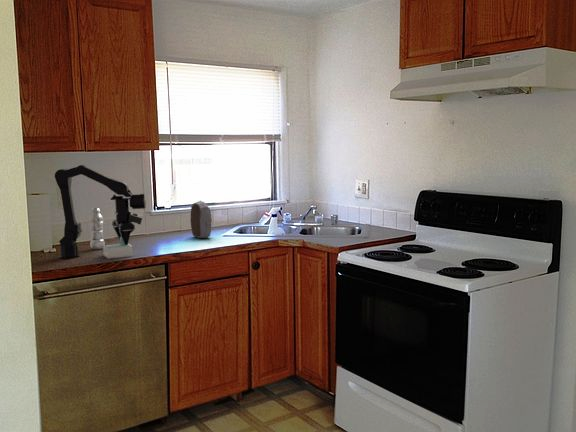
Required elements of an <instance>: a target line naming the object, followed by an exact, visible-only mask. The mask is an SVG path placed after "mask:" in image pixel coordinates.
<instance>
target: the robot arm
mask: <svg viewBox="0 0 576 432" xmlns="http://www.w3.org/2000/svg"><path fill="white" fill-rule="evenodd" d="M79 175H80V176H81V175H82V176H84V177H87V178H88V179H91V180H93V181H95V182H97V183H99V184H102V185H103V186H105V187H107V188H108V189H109V190H110V191H112V192H113V193H115V194H113V196H112V197H111V198H110V201H114V202H115V203H114V204H115V211H114V214H115V219H114V220H112V221H111V226H112V227H113V230H114V231H115V234H116V236H117V238H118V240H119V241H120V237H122V239H123V241H124V244H125V245H128V244H129V240H130V235H131V233H133V232H134V231H135V227H136V226H135V224H137V225H141V224H142V221H143V217H141V216H138V214H137V213H134V212H133V213H132V212H131V211H130V208H131V209H132V210H145V209H146V207H147V205H146V204H147V203H146V201H147V200H146V199H145V198H146V196H145V193H140V194H138V193H137V194H133V192H132V191H131V190H130V189H129V185H128V183H127V182H126V181H123V180H119V179H116V178H112V177H109V176H106V175H104V174H102V173H100V172H98V171H96V170H94V169H92V168H90V167H88V166H86V165H85V164H80V165H78V166H76V167H72V168H71V167H70V168H68V169H67V168H61V169H57V170H56V171H55V172H54V179H55V182H56V184H57V186H58V188H59V190H60V191H59V192H60V196H61V202H62V208H63V214H64V221H65V223H64V229H63V232H64V233H63V237H62V238H61V239H60V240H59V241H58V242H59V244H60V256H58V258H60V259H65V260H70V259H73V258H74V259H75V258H79V257H81V256H80V254H79V250H78V249H79V248H78V247H79V246H78V243H77V241H78V239H79V238H80V237H81V235H82V232H83V230H82V228H81V227H82V223H81V222H79V223H78V221H77V220H76V216H75V208H74V202H73V196H72V190H71V187H72V181H73V180H72V179H73V178H75V177H76V176H79ZM131 213H132V214H131Z"/></svg>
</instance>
